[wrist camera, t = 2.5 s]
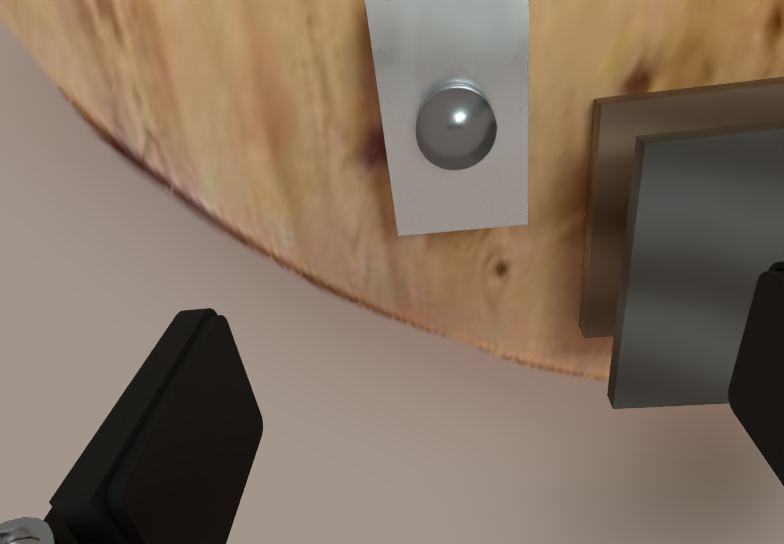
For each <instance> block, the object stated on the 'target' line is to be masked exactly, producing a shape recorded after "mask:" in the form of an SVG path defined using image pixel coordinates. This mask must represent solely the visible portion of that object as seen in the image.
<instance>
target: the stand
mask: <svg viewBox="0 0 784 544" xmlns="http://www.w3.org/2000/svg"><path fill="white" fill-rule="evenodd" d="M781 261H784V77H780V78H772V79H763V80H754V81H746V82H737V83H728V84H720V85H711V86H702V87H694V88H685V89H676V90H668V91H659V92H651V93H642V94H633V95H625V96H616V97H607V98H599V99H595V101H594V116H593V131H592V145H591V160H590V175H589V190H588V205H587V219H586V234H585V249H584V264H583V278H582V293H581V308H580V323H579V326H580V329H581V331H582V334H583V336H584V338H591V337H606V336H614V340H613V348H612V357H611V366H610V375H609V384H608V393H607V395H608V398H609V400H610V403H611V405H612V408H613V409H622V408H643V407H663V406H684V405H704V404H724V403H729V399H728V389H729V385H730V381H731V377H732V374H733V370H734V366H735V362H736V359H737V355H738V351H739V347H740V344H741V340H742V336H743V333H744V329H745V325H746V321H747V318H748V314H749V310H750V306H751V303H752V299H753V295H754V291H755V288H756V284H757V280H758V278H759V276H760V275H761V273H763V272H765V271H768V270H769V268H770V267H771V265H772V264H774V263H776V262H781Z"/></svg>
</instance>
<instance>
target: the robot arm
mask: <svg viewBox="0 0 784 544" xmlns="http://www.w3.org/2000/svg"><path fill="white" fill-rule="evenodd" d="M728 399H729V403H730V406H731V408H732V410H733V412H734V414H735V415H736V417H737V418H738V419H739V421H740V422H741V424H742V425H743V427H744V428H745V430H746V431H747V433H748V434H749V436H750V437H751V439H752V440H753V441H754V443H755V445H756V446H757V447H758V449H759V450H760V452H761V453H762V455H763V456H764V458H765V459H766V461H767V462H768V464H769V465H770V467H771V468H772V469H773V471H774V472H775V474H776V475H777V477H778V478H779V480H780V481H781V483H782V484H783V486H784V261H781V262H776V263H774V264H772V265H771V267H770V268H769V270H768V271H765V272H763V273H761V275H760V276H759V278H758V280H757V284H756V288H755V291H754V295H753V299H752V303H751V306H750V310H749V314H748V318H747V321H746V325H745V329H744V333H743V336H742V340H741V344H740V347H739V351H738V355H737V359H736V362H735V366H734V370H733V374H732V377H731V381H730V385H729V389H728ZM262 432H263V421H262V416H261V413H260V410H259V407H258V405H257V402H256V399H255V396H254V394H253V391H252V388H251V385H250V383H249V380H248V377H247V374H246V371H245V369H244V366H243V363H242V360H241V358H240V355H239V352H238V349H237V346H236V344H235V341H234V338H233V335H232V333H231V330H230V327H229V324H228V322H227V319H226V318H225V317H224V316H222V315H217V313H216V312H215V310H213V309H211V308H208V309H196V310H184V311H180V312H179V313H178V314H177V315H176V316H175V318H174V319H173V321H172V322H171V324H170V325H169V327H168V328H167V330H166V331H165V333H164V334H163V336H162V337H161V338H160V340H159V341H158V343H157V344H156V346H155V348H154V349H153V350H152V352H151V353H150V355H149V356H148V358H147V359H146V360H145V362H144V364H143V365H142V366H141V368H140V369H139V371H138V372H137V374H136V375H135V377H134V378H133V380H132V381H131V383H130V384H129V385H128V387H127V388H126V390H125V391H124V393H123V394H122V396H121V397H120V399H119V400H118V402H117V403H116V404H115V406H114V407H113V409H112V410H111V412H110V413H109V415H108V416H107V418H106V419H105V421H104V422H103V423H102V425H101V426H100V428H99V430H98V431H97V433H96V434H95V436H94V437H93V438H92V440H91V441H90V443H89V444H88V446H87V447H86V449H85V450H84V451H83V453H82V454H81V456H80V457H79V459H78V460H77V462H76V463H75V465H74V466H73V468H72V469H71V471H70V472H69V473H68V475H67V476H66V478H65V479H64V481H63V482H62V484H61V485H60V487H59V488H58V490H57V491H56V493H55V494H54V496H53V497H52V498H51V500H50V501H49V503H50V504H51V506H52V508H51V510H50V511H49V513H48V514H47V516H46V517H45V519H44V520H41V519H39V518H31V517H22V518H18V519H14V520H10V521H6V522H4V523H2V524H0V544H226V542H227V539H228V536H229V533H230V530H231V527H232V524H233V521H234V518H235V515H236V512H237V509H238V506H239V503H240V500H241V497H242V494H243V491H244V488H245V485H246V482H247V479H248V476H249V473H250V470H251V467H252V464H253V461H254V458H255V455H256V452H257V449H258V446H259V443H260V440H261V437H262Z"/></svg>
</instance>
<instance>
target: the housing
mask: <svg viewBox="0 0 784 544" xmlns="http://www.w3.org/2000/svg"><path fill="white" fill-rule="evenodd" d="M365 3H366V11H367V18H368V25H369V32H370V39H371V46H372V53H373V61H374V68H375V75H376V82H377V89H378V96H379V103H380V111H381V118H382V125H383V132H384V139H385V146H386V153H387V161H388V168H389V175H390V182H391V189H392V196H393V203H394V211H395V218H396V225H397V232H398V236H405V235H416V234H427V233H438V232H449V231H460V230H471V229H482V228H494V227H505V226H516V225H527V224H528V58H529V0H365Z"/></svg>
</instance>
